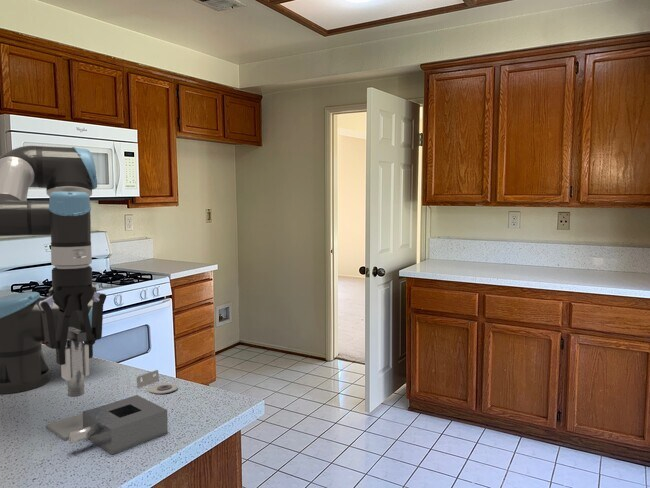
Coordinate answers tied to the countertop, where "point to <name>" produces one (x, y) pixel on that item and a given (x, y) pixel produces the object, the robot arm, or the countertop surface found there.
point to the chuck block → (122, 424)
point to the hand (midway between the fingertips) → (75, 376)
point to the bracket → (150, 379)
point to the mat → (66, 426)
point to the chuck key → (76, 361)
